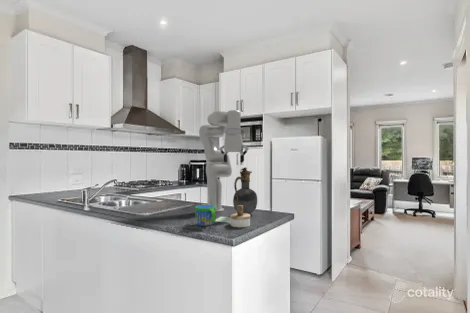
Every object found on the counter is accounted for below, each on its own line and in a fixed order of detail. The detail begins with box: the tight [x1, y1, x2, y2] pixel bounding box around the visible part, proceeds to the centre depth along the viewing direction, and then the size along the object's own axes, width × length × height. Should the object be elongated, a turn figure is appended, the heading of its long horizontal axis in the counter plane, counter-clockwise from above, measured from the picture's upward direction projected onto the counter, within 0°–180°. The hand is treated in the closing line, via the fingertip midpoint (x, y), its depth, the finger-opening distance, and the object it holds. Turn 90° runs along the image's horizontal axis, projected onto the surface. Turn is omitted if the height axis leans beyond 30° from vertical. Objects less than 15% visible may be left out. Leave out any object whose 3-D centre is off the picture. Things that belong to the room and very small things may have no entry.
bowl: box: [229, 217, 251, 228], centre depth 155 cm, size 10×10×4 cm
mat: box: [214, 216, 230, 224], centre depth 167 cm, size 12×12×1 cm
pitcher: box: [232, 167, 258, 217], centre depth 178 cm, size 11×19×30 cm, turn 145°
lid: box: [229, 205, 251, 220], centre depth 155 cm, size 11×11×6 cm
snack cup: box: [194, 204, 217, 227], centre depth 156 cm, size 16×10×10 cm
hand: (233, 162), depth 167 cm, fingers open, 9 cm apart
